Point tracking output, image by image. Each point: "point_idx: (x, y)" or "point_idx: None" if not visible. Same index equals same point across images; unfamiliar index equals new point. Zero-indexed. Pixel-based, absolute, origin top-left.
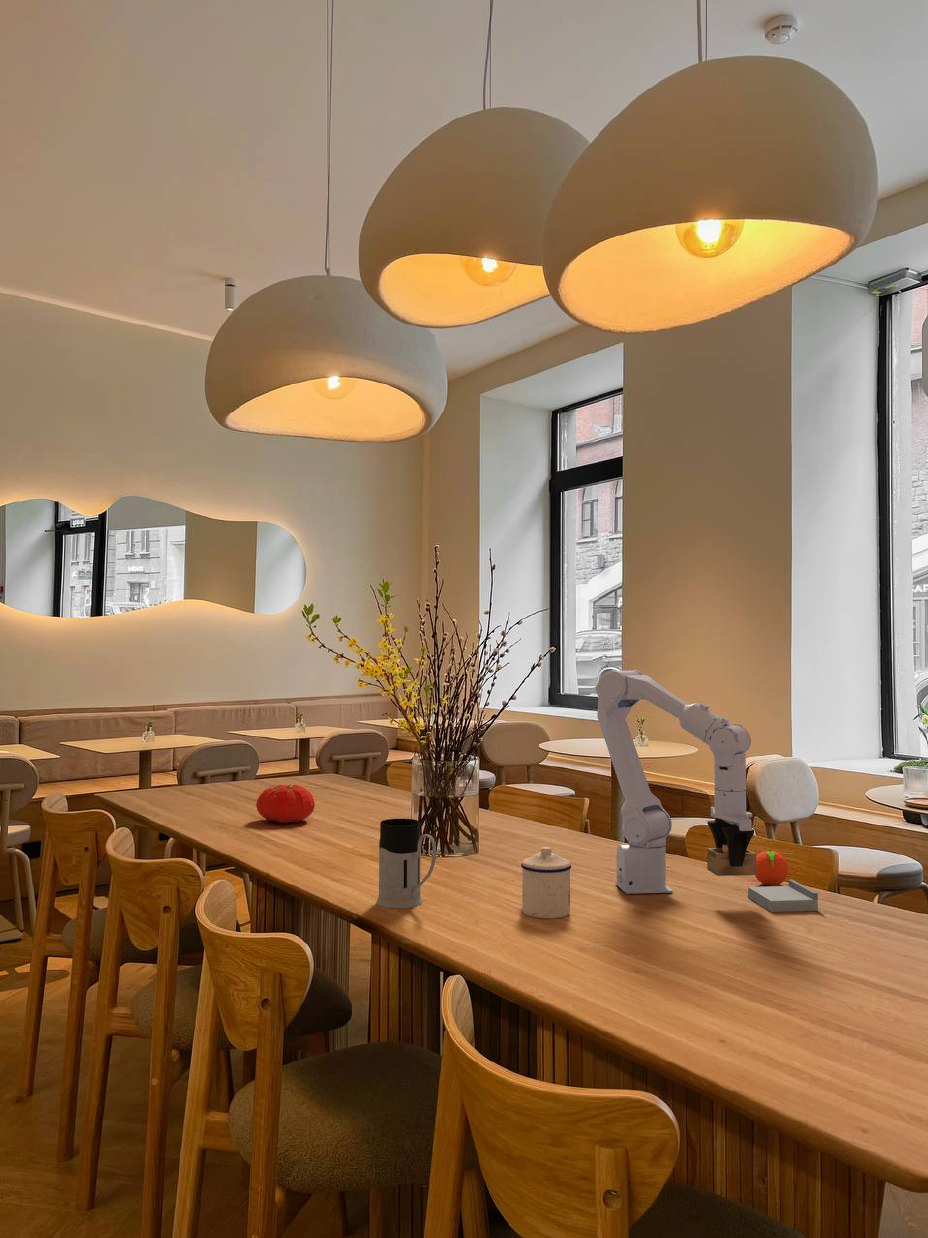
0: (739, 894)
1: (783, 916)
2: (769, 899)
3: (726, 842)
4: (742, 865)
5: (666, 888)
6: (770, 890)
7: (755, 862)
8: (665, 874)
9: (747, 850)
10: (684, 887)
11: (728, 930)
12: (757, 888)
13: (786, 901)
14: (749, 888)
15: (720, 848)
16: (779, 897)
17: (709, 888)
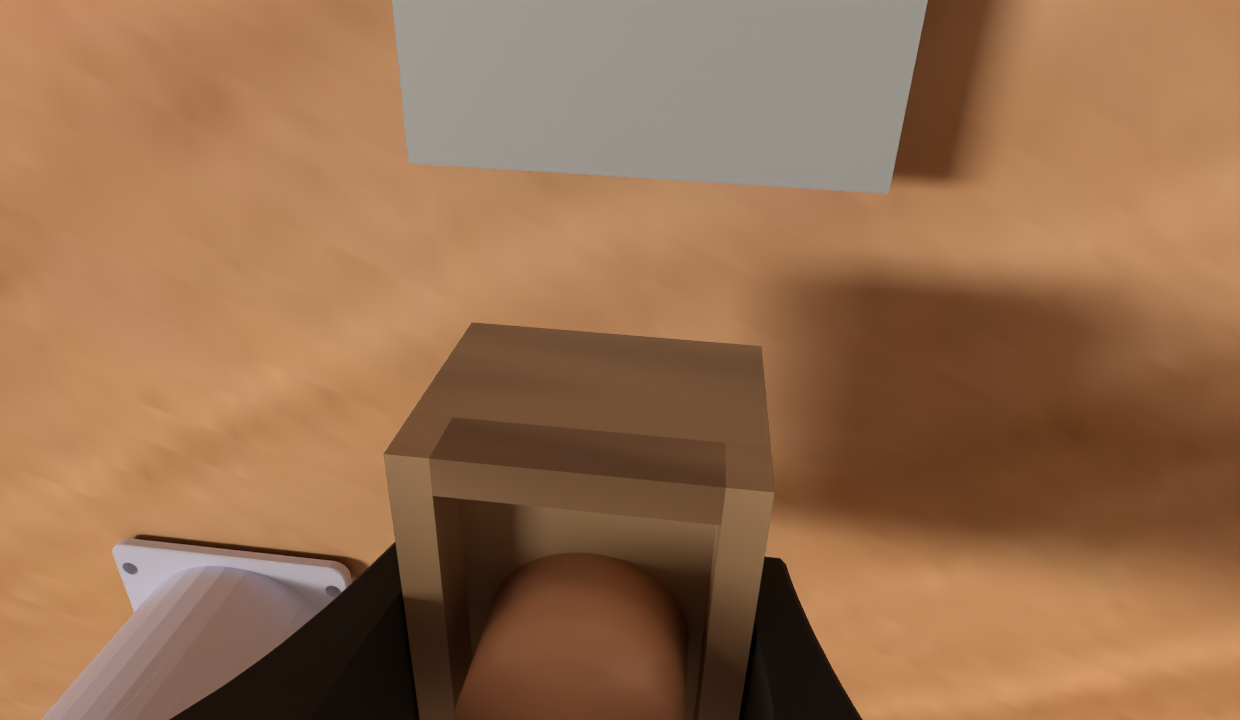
0: (349, 166)
1: (1017, 128)
2: (841, 181)
3: (370, 704)
4: (780, 560)
5: (297, 583)
6: (540, 4)
7: (765, 428)
8: (232, 643)
9: (566, 506)
10: (193, 444)
11: (1145, 608)
12: (464, 101)
13: (920, 33)
14: (440, 162)
15: (437, 712)
16: (801, 48)
17: (195, 306)
